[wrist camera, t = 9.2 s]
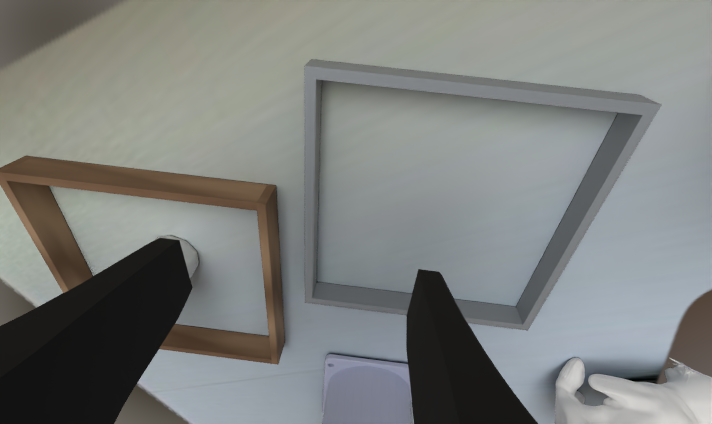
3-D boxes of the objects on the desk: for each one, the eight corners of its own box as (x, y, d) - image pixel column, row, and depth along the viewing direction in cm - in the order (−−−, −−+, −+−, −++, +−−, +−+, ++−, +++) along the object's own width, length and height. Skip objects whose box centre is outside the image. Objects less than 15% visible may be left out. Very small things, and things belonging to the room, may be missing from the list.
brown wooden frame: (284, 342, 28) (278, 364, 26) (108, 319, 28) (91, 340, 27) (276, 185, 20) (265, 204, 18) (25, 155, 20) (-8, 171, 18)
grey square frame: (520, 312, 24) (527, 330, 22) (309, 286, 24) (304, 302, 23) (639, 94, 15) (661, 104, 14) (311, 59, 16) (304, 65, 14)
